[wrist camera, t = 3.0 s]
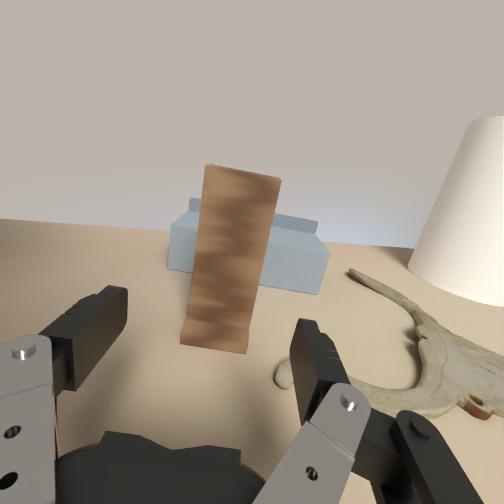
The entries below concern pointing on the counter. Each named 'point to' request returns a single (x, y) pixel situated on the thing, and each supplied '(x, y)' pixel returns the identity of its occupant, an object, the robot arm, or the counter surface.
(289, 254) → the display riser
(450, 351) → the decorative wall piece
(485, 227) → the cylinder
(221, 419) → the counter surface
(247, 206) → the brown wooden block
